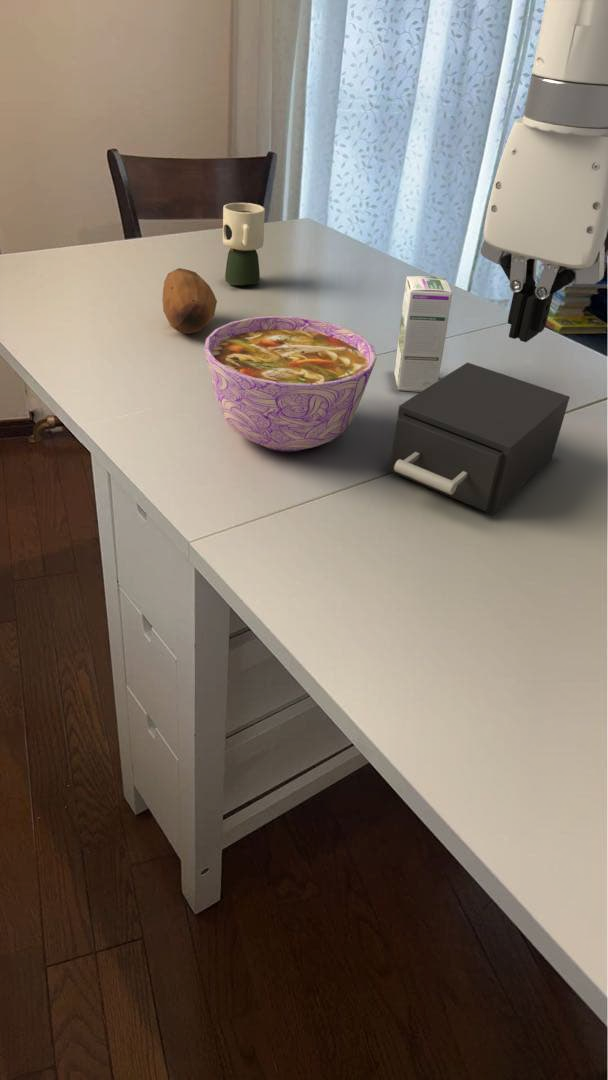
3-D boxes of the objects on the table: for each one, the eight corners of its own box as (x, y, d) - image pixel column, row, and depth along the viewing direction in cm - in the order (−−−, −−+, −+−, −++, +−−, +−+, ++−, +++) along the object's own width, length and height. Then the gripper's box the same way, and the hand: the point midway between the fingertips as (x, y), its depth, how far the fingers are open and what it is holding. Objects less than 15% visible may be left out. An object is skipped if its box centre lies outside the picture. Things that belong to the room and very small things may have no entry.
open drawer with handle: (467, 527, 84) (480, 472, 80) (369, 484, 90) (376, 431, 86) (541, 458, 97) (555, 408, 93) (452, 424, 103) (461, 375, 99)
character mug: (220, 273, 147) (220, 198, 140) (258, 273, 148) (261, 200, 141) (224, 293, 139) (225, 215, 131) (265, 294, 140) (268, 216, 132)
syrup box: (437, 393, 112) (455, 291, 104) (395, 390, 112) (410, 288, 103) (431, 376, 117) (449, 277, 108) (391, 373, 117) (405, 274, 108)
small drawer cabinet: (493, 515, 88) (510, 447, 83) (389, 471, 94) (399, 405, 89) (551, 459, 99) (570, 396, 94) (454, 423, 105) (467, 362, 100)
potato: (201, 359, 123) (158, 336, 118) (188, 309, 132) (147, 285, 126) (231, 324, 120) (188, 299, 115) (216, 275, 128) (175, 249, 123)
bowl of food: (396, 457, 97) (411, 368, 90) (249, 493, 88) (252, 397, 81) (314, 389, 111) (320, 307, 104) (179, 414, 102) (177, 327, 95)
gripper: (689, 116, 60) (619, 347, 71) (507, 89, 67) (468, 304, 78) (659, 126, 55) (588, 373, 66) (465, 96, 62) (430, 325, 73)
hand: (523, 335), depth 72 cm, fingers closed
